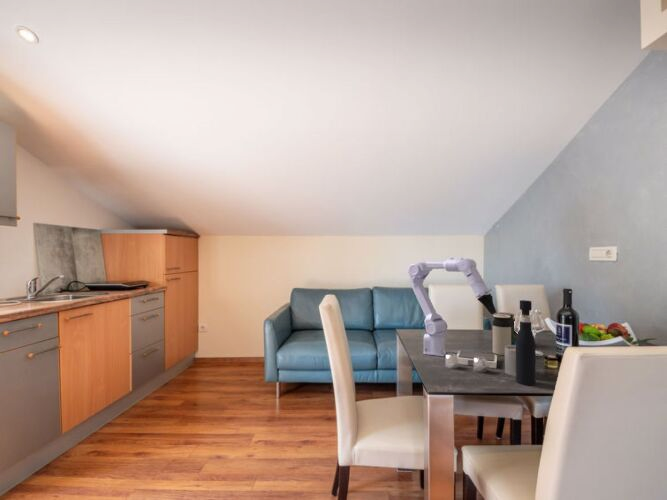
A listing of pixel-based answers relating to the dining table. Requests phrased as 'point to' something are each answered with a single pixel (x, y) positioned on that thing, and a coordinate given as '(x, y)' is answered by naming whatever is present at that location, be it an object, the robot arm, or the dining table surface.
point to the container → (513, 333)
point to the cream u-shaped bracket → (468, 356)
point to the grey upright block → (510, 360)
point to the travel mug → (501, 333)
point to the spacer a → (451, 361)
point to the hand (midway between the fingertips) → (493, 312)
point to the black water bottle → (525, 348)
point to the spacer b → (480, 364)
